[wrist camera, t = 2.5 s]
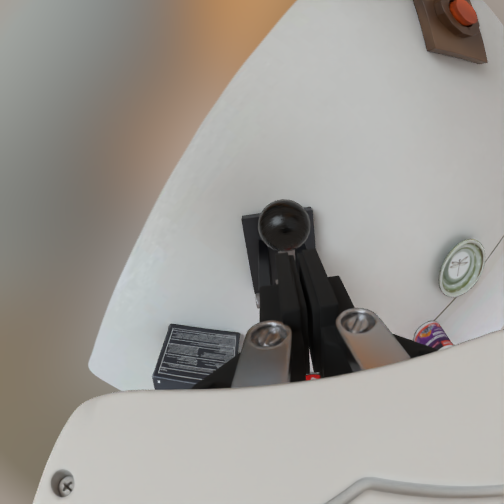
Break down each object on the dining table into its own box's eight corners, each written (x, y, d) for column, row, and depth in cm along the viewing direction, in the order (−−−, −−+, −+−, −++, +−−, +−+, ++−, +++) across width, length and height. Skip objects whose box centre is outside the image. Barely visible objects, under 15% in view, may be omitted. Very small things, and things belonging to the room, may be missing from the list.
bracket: (241, 215, 33) (234, 262, 22) (310, 206, 32) (336, 249, 21) (254, 289, 37) (253, 353, 26) (315, 281, 36) (335, 342, 26)
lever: (252, 192, 17) (256, 233, 15) (305, 185, 17) (315, 225, 15) (271, 290, 28) (274, 320, 26) (303, 286, 27) (308, 316, 26)
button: (445, -2, 16) (452, -5, 14) (465, 6, 16) (472, 3, 14) (453, 22, 17) (461, 19, 16) (472, 28, 17) (480, 26, 16)
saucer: (434, 299, 38) (441, 308, 35) (429, 248, 34) (437, 256, 32) (477, 274, 36) (485, 281, 34) (476, 224, 32) (485, 230, 30)
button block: (404, -23, 18) (417, -33, 14) (458, -6, 17) (473, -12, 13) (426, 51, 23) (443, 46, 19) (478, 64, 22) (496, 62, 18)
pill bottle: (439, 315, 39) (466, 353, 30) (438, 336, 41) (461, 373, 32) (412, 327, 40) (436, 368, 31) (413, 348, 42) (434, 387, 33)
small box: (171, 352, 42) (155, 403, 33) (169, 322, 40) (149, 374, 30) (236, 361, 43) (232, 415, 33) (240, 332, 40) (236, 388, 31)
